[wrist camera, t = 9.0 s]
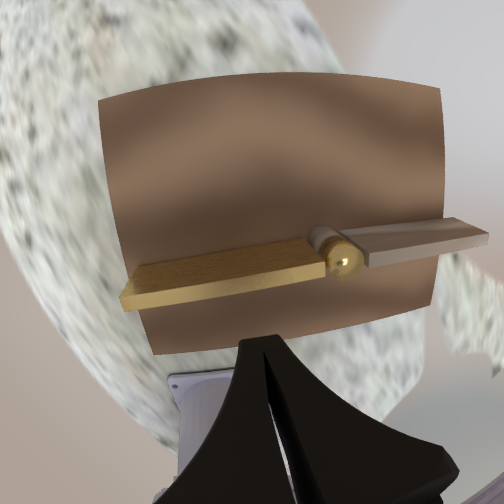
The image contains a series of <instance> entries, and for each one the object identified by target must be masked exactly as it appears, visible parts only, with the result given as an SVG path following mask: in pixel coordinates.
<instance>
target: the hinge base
mask: <svg viewBox="0 0 504 504" xmlns="http://www.w3.org/2000/svg"><path fill="white" fill-rule="evenodd" d="M98 109H99V120H100V131H101V140H102V148H103V155H104V163H105V169H106V176H107V182H108V188H109V193H110V199H111V204H112V209H113V214H114V219H115V224H116V229H117V233H118V237H119V242H120V246H121V250H122V254H123V258H124V262H125V266H126V270H127V273H128V277H129V279H130V278H131V276H132V274H133V273H134V271H135V269H136V268H137V267H140V266H145V265H150V264H156V263H161V262H167V261H172V260H178V259H183V258H189V257H195V256H200V255H206V254H211V253H217V252H222V251H228V250H234V249H239V248H245V247H250V246H256V245H262V244H267V243H273V242H279V241H284V240H290V239H296V238H301V237H303V238H304V239H305V240H306V241H307V242H308V243H309V244H310V246H311V247H312V248H313V249H314V250H315V251H316V252H317V253H318V254H319V250H320V247H321V245H322V243H323V242H324V241H325V240H326V239H328V238H329V237H332V236H341V237H343V238H345V239H346V240H347V241H349V242H350V243H351V244H352V245H354V246H355V247H356V248H357V249H359V250H360V251H361V252H362V254H363V257H364V265H363V268H362V270H361V272H360V273H359V274H358V275H357V276H356V277H355V278H353V279H352V280H349V281H340V280H338V279H336V278H335V277H334V276H333V275H332V273H331V272H330V271H329V270H328V269H327V268H326V266H325V276H326V277H321V278H316V279H311V280H306V281H301V282H296V283H291V284H286V285H281V286H276V287H271V288H266V289H260V290H255V291H249V292H244V293H238V294H233V295H227V296H221V297H215V298H210V299H204V300H198V301H192V302H185V303H179V304H173V305H166V306H160V307H153V308H146V309H139V310H138V311H139V314H140V317H141V320H142V323H143V326H144V329H145V332H146V335H147V338H148V341H149V343H150V346H151V349H152V352H153V355H162V354H175V353H186V352H196V351H206V350H215V349H223V348H231V347H238V342H239V341H240V340H241V339H248V338H254V337H261V336H267V335H274V334H278V335H280V336H281V338H282V339H283V340H284V339H290V338H295V337H301V336H306V335H311V334H316V333H321V332H326V331H331V330H336V329H340V328H345V327H349V326H354V325H358V324H362V323H366V322H370V321H374V320H378V319H382V318H386V317H390V316H394V315H397V314H401V313H405V312H408V311H412V310H415V309H419V308H422V307H426V306H429V305H430V303H431V299H432V293H433V288H434V283H435V277H436V271H437V264H438V258H439V255H440V254H445V253H450V252H455V251H460V250H464V249H469V248H473V247H478V246H483V245H487V244H488V237H489V233H488V232H486V231H483V230H481V229H479V228H477V227H474V226H472V225H470V224H467V223H465V222H463V221H461V220H458V219H456V218H453V217H451V218H443V208H444V187H445V146H444V126H443V113H442V103H441V94H440V89H439V88H435V87H430V86H425V85H420V84H415V83H410V82H404V81H398V80H391V79H385V78H377V77H369V76H359V75H348V74H333V73H307V72H281V73H255V74H240V75H228V76H219V77H210V78H202V79H195V80H188V81H182V82H176V83H170V84H165V85H160V86H155V87H150V88H145V89H141V90H137V91H132V92H128V93H124V94H120V95H117V96H113V97H109V98H106V99H102V100H99V101H98Z"/></svg>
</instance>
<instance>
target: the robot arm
mask: <svg viewBox="0 0 504 504" xmlns="http://www.w3.org/2000/svg"><path fill="white" fill-rule="evenodd" d="M167 382H168V385H169V387H170V390H171V392H172V395H173V397H174V399H175V402H176V404H177V406H178V409H179V411H180V413H181V419H180V435H179V453H178V476H174V482H173V484H172V485H171V486H170V487H169V488H163V489H162V490H161V492H159V493H157V494H156V495H155V497H154V499H153V503H152V504H443V500H442V498H441V496H440V494H441V493H442V492H443V491H444V490H445V489H446V488H447V487H448V486H450V484H451V483H453V482H454V480H455V479H456V478H457V477H458V474H459V472H460V471H459V469H458V467H457V466H456V464H455V463H454V461H453V459H452V458H451V456H450V455H449V454H448V453H447V452H446V451H445V449H444V448H443V447H442V446H440V445H436V444H433V443H430V442H427V441H423V440H420V439H417V438H414V437H411V436H409V435H406V434H404V433H401V432H399V431H397V430H394V429H392V428H390V427H388V426H386V425H384V424H382V423H381V422H379V421H377V420H375V419H373V418H371V417H369V416H367V415H366V414H364V413H362V412H361V411H359V410H358V409H356V408H355V407H353V406H352V405H350V404H349V403H347V402H346V401H344V400H343V399H342V398H340V397H339V396H338V395H336V394H335V393H334V392H333V391H331V390H330V389H329V388H328V387H327V386H326V385H324V384H323V383H322V382H321V381H320V380H319V379H318V378H317V377H316V376H315V375H313V374H312V373H311V372H310V370H309V369H308V368H307V367H306V366H305V365H304V364H303V363H302V362H301V361H300V360H299V359H298V358H297V357H296V356H295V354H294V353H293V352H292V351H291V350H290V348H289V347H288V346H287V345H286V343H285V342H284V340H283V339H282V338H281V336H280V335H278V334H274V335H267V336H261V337H254V338H248V339H241V340H240V341H239V342H238V355H237V360H236V365H235V369H231V370H223V371H214V372H204V373H194V374H182V375H171V376H169V377H168V379H167ZM174 384H175V385H174ZM271 412H272V414H271ZM272 415H273V418H274V421H275V424H276V427H277V430H278V433H279V436H280V439H281V442H282V445H283V448H284V451H285V454H286V458H287V461H288V465H289V469H290V474H291V477H290V475H287V472H286V468H285V465H284V461H283V458H282V454H281V450H280V447H279V443H278V439H277V435H276V431H275V427H274V423H273V419H272ZM291 478H292V481H291ZM292 483H293V485H292ZM461 504H504V472H503V473H502V474H501V475H500V476H498V477H497V478H496V479H494V480H493V481H492V482H491V483H489V484H488V485H487V486H485V487H484V488H483V489H481V490H480V491H479V492H477V493H476V494H474V495H473V496H472V497H470V498H469V499H467V500H466V501H464V502H463V503H461Z"/></svg>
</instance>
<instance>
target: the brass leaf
mask: <svg viewBox="0 0 504 504" xmlns="http://www.w3.org/2000/svg"><path fill="white" fill-rule="evenodd" d="M363 265H364V257H363V254H362V252H361V251H360V250H359V249H357V248H356V247H355V246H354V245H352V244H351V243H350V242H349V241H347V240H346V239H345V238H343V237H341V236H332V237H329V238H328V239H326V240H325V241H324V242H323V243H322V245H321V247H320V250H319V254H318V253H317V252H316V251H315V250H314V249H313V248H312V247H311V246H310V244H309V243H308V242H307V241H306V240H305V239H304V238H303V237H301V238H296V239H290V240H284V241H279V242H273V243H267V244H262V245H256V246H250V247H245V248H239V249H234V250H228V251H222V252H217V253H211V254H206V255H200V256H195V257H189V258H183V259H178V260H172V261H167V262H161V263H156V264H150V265H145V266H140V267H137V268H136V269H135V271H134V273H133V274H132V276H131V278H130V279H129V281H128V283H127V285H126V286H125V288H124V290H123V292H122V293H121V295H120V297H119V299H120V302H121V304H122V307H123V310H124V312H125V311H132V310H139V309H146V308H153V307H160V306H166V305H173V304H179V303H185V302H192V301H198V300H204V299H210V298H215V297H221V296H227V295H233V294H238V293H244V292H249V291H255V290H260V289H266V288H271V287H276V286H281V285H286V284H291V283H296V282H301V281H306V280H311V279H316V278H321V277H326V276H325V266H326V268H327V269H328V270H329V271H330V272H331V273H332V275H333V276H334V277H335V278H336V279H338V280H340V281H349V280H352V279H353V278H355V277H356V276H357V275H358V274H359V273H360V272H361V270H362V268H363Z"/></svg>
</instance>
